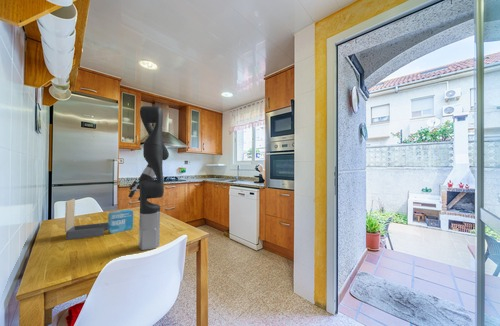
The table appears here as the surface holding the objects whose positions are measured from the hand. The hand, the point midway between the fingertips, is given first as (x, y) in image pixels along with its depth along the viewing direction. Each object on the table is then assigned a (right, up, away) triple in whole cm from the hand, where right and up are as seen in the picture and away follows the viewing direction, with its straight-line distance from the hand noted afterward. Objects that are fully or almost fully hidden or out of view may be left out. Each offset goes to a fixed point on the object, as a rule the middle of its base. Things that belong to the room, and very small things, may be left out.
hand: (134, 198), depth 114 cm
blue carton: (-8, -20, 0) cm, 22 cm away
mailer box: (-22, -19, -7) cm, 30 cm away
